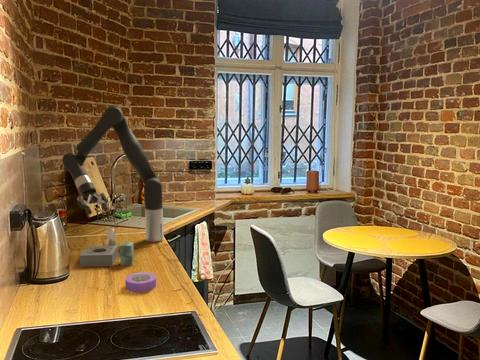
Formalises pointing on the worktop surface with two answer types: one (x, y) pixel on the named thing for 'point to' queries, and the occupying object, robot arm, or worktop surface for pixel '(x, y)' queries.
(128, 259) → the square peg
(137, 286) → the masking tape
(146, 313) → the worktop surface
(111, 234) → the steel peg
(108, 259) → the socket block
